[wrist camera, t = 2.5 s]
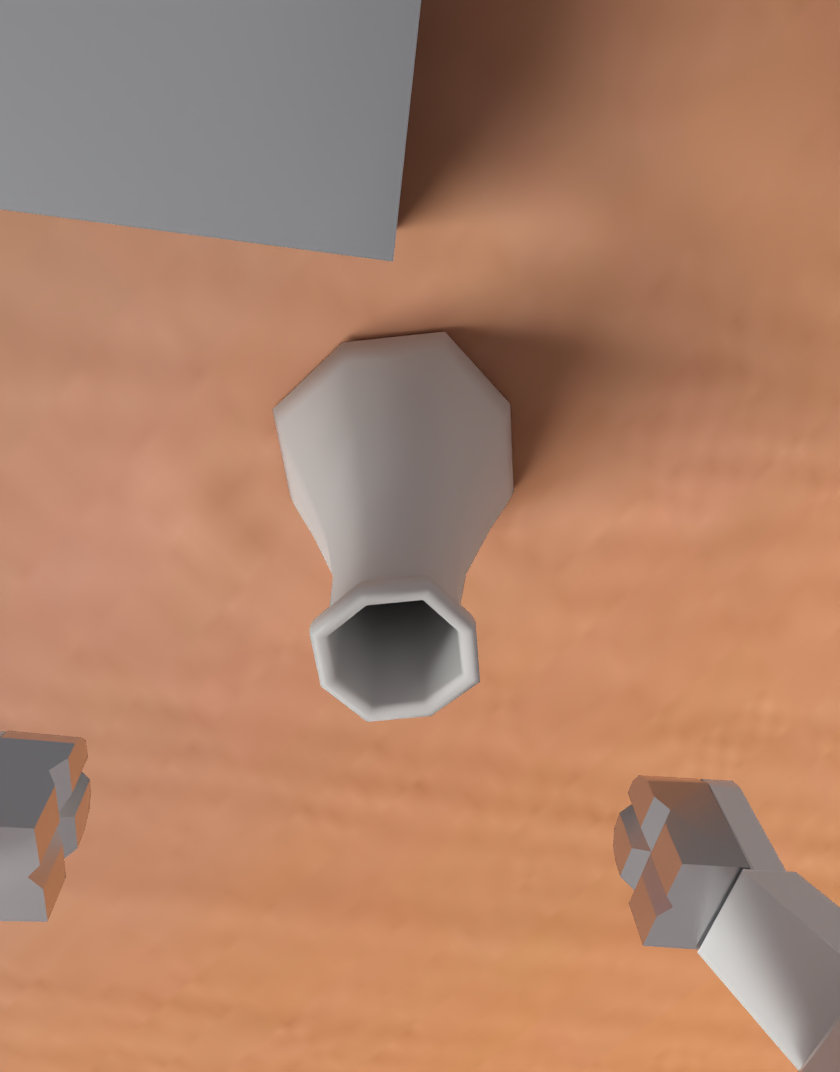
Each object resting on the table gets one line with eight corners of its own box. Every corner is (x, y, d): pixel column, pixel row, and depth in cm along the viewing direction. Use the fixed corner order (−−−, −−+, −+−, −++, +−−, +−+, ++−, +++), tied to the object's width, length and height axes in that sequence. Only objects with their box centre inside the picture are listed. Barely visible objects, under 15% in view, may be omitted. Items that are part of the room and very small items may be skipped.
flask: (461, 284, 20) (510, 415, 12) (549, 500, 24) (636, 727, 15) (231, 391, 22) (117, 580, 13) (344, 581, 25) (316, 833, 16)
